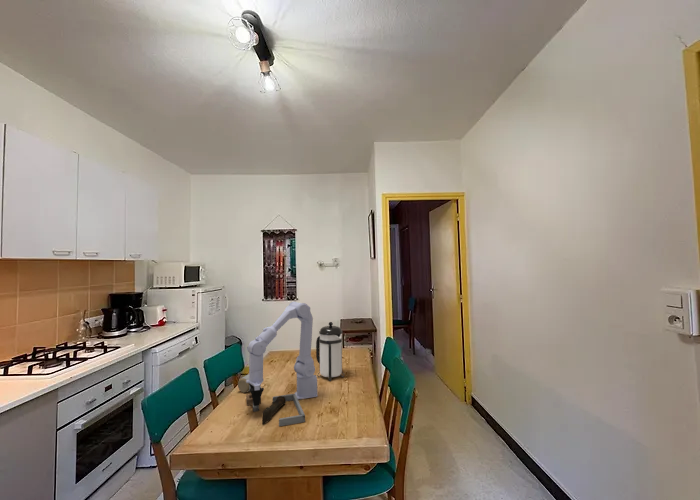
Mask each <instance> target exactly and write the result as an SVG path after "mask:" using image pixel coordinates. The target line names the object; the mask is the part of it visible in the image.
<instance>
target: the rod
mask: <svg viewBox="0 0 700 500" xmlns="http://www.w3.org/2000/svg"><path fill="white" fill-rule="evenodd" d="M259 411H260V404H259V405H258V406H254V405H252V412H255V413H256V412H259Z"/></svg>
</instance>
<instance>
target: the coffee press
mask: <svg viewBox="0 0 700 500" xmlns="http://www.w3.org/2000/svg"><path fill="white" fill-rule="evenodd" d="M318 331H319V333H318V334H319V336H318V337H317V338H316V340H315V341H316V342H315V356H316V357H315V359H316V361H317V363H318V365H319V370H318V371H319V372H318V374H317V375H316V377H317V378H320V377H322V376H323V377H324V378H328V382H332V378H336V377H339V376H340V377H341V378H344V377H345V373H344V372H343V337H342V336H343V330H342V328H341V327H340V326H338V325H333V321H330V322H328V325H325V326H322V327H321V328H320V329H319V330H318ZM319 374H320V375H319Z"/></svg>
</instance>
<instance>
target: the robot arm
mask: <svg viewBox="0 0 700 500" xmlns="http://www.w3.org/2000/svg"><path fill="white" fill-rule="evenodd" d="M291 319H298V320H299V321H300V336H299V349H298V350H299V351H298V352H299V354H298V355H297V357H296V360H295V363H294V365H293V370H294V371H295V373H296V391H295V392H294V394H295V395H296V397H297V399H298V400H304V399H309V398H310V399H312V398H318V376H317V375H316V374H315V371H316V367H315V363H314V359H313V357H312V339H313V337H312V336H313V324H314V323H313V319H314V318H313V315H312V313H311V307H310V306H309V305H308V304H307V303H305V302H299V301H298V302H297V301H292V302H290V303H289V304H288V305H287V306H285V308H284V311H283V312H282V313H281V314H280V315H279V316H278V317H277V319H276V320H275V321H274V322H273V324H272V325H270V326H266V327H264V328H263V329H262V331H261V332H260V334H259V335H258V336H256V337H254V338H255V339H253V340H250V341H249V343H248V346H247V347H246V350H247V352H248V353H249V356H248V357H249V361H248V362H249V363H248V365H249V366H248V368H249V369H248V370H249V371H248V374H249V380H246V383H249V385H250V387H251V388H250V391H249V394H251V395H252V399H253V405H254V406H258V405H259V406H260V404H259V403H260V398H261V399H262V394H263V392H264V390H265V389H264V387H262V386H261V385H262V383H263V382H264V354H265V353H266V350H267V347H268V345H269V344H271V342H272V341H273V340H274V339H275V338H276V337H277V335H278V331H279V330H280V329H281V328H282V327H283V326H284V325H285V324H286V323H287V322H289V320H291ZM260 386H261V388H260ZM253 405H252V406H253Z"/></svg>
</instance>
